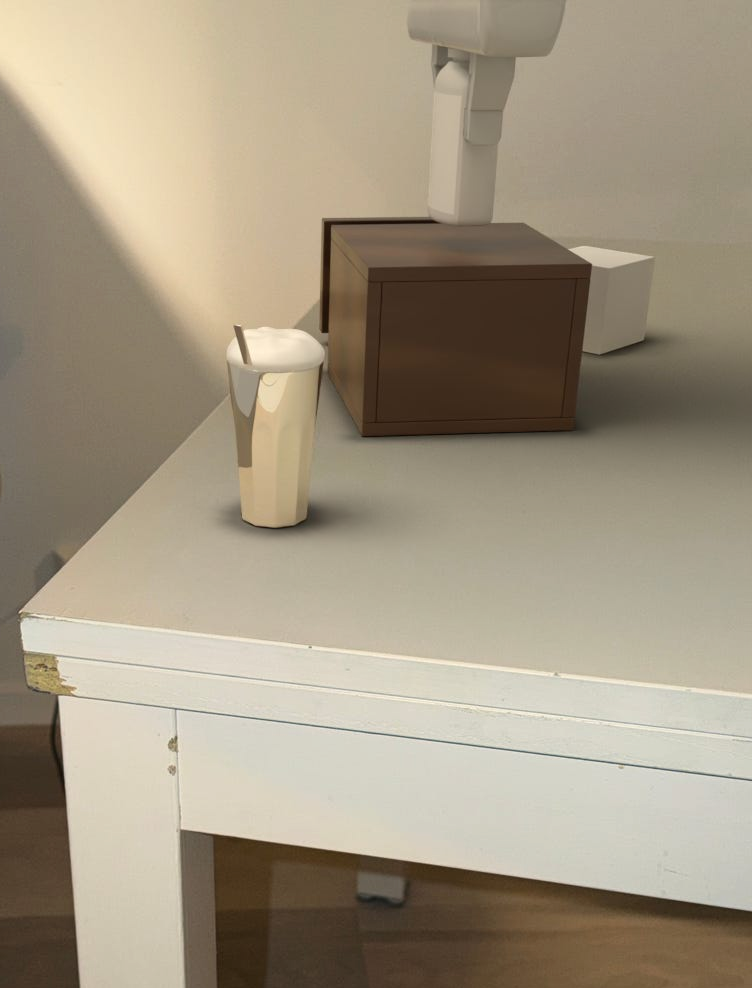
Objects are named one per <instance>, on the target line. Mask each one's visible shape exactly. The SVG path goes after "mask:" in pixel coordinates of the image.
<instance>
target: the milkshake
mask: <svg viewBox="0 0 752 988" xmlns="http://www.w3.org/2000/svg"><path fill="white" fill-rule="evenodd" d="M233 329H234V333H235V336H234V338H233V339H232V340H231V342H230V343H229V344H228V346H227V349H226V355H225V356H226V367H227V376H228V384H229V392H230V401H231V410H232V416H233V422H234V432H235V442H236V443H235V444H236V454H237V455H236V457H237V468H238V469H237V470H238V482H239V495H240V507H241V517H242V520H243V521H245V522H247V523H250V524H252V525H254V526H257V527H264V528H274V529H278V528H284V527H291V526H292V527H293V526H296V525H298V524H299V523H301V522H303V521H305V520H306V519H307V515H308V505H309V498H310V497H309V495H310V486H311V475H312V474H311V473H312V464H313V463H312V462H313V454H314V453H313V452H314V443H315V433H316V423H317V417H318V409H319V401H320V394H321V387H322V379H323V371H324V370H323V369H324V362H325V361H324V360H325V357H326V354H325V349H324V348H323V346H322V344H320V342H319V341H318V340H317V339H316V338H314V336H312V335H311V334H310V333H308V332H306V331H304V330H301V329H296V328H273V327H271V326H261V327H258V328H246V329H243V326H242V325H240V324H235V323H234V324H233Z"/></svg>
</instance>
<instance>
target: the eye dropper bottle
mask: <svg viewBox="0 0 752 988" xmlns="http://www.w3.org/2000/svg"><path fill="white" fill-rule="evenodd" d="M448 57H451V58H453V60H452V61H449V62H448V63H447V65H446V66H444V67H443V68H442V70H441V71H440V72H439V74H438V76H437V78H436V81H435V88H434V87H433V91H434V92H433V104H432V120H431V121H432V122H431V139H430V140H431V141H430V156H429V158H430V159H429V172H428V173H429V175H428V176H429V177H428V194H427V215H428V217H430V218H431V219H432V220H434V221H436V222H439V223H442V224H446V225H450V226H459V227H462V226H486V225H489V224H490V223H492V221H493V218H494V217H493V216H494V207H495V206H494V205H495V194H496V193H495V192H496V191H495V190H496V179H497V166H498V155H499V154H498V153H499V142H498V143H497V144H496V145H493V146H474V145H472V144H470V143H468V142H467V141H466V140H465V139H464V138H463V127H464V122H463V121H464V108H468V100H469V92H470V84H471V76H472V75H469V65H470V52H465V51H461V50H456V49H452V48H448Z"/></svg>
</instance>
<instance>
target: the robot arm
mask: <svg viewBox="0 0 752 988" xmlns="http://www.w3.org/2000/svg"><path fill="white" fill-rule="evenodd" d="M566 3H567V0H406V29H407V33H408V37H409V38H410V40H412V41H416V42H420V43H423V44H430V45H431V57H430V58H431V60H430V66H431V67H430V68H431V74H432V75H431V76H432V82H433V89H434V88H435V81H436V78H437V76H438V74H439V72H440V71H441V70H442V68H443V67H444V66H446V65H447V63H448V62H449V61H452V60H453V58H451V57H448V48H452V49H456V50H461V51H465V52H470V65H469V75H472V76H471V84H470V92H469V100H468V108H464V121H463V122H464V127H463V138H464V139H465V140H466V141H467V142H468V143H470V144H472V145H474V146H493V145H496V144H497V143H498V144H499V143H500V141H501V138H502V133H503V132H502V130H503V119H504V110H505V108H506V105H507V102H508V99H509V95H510V92H511V88H512V85H513V82H514V79H515V73H516V72H515V71H516V59H517V58H542V57H544V58H545V57H547V56H549V55H550V54H551V53H552V51H553V49H554V47H555V45H556V42H557V40H558V36H559V33H560V31H561V28H562V25H563V20H564V16H565V11H566V10H565V9H566Z"/></svg>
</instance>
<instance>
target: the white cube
mask: <svg viewBox="0 0 752 988" xmlns="http://www.w3.org/2000/svg"><path fill="white" fill-rule="evenodd" d="M567 249H568V250H570V251H572V252H573V253H575V254H577V255H578V256H580V257H582V258H583V259H585V260H586V261H588V262H590V263H591V264H592V271H591V278H590V288H589V297H588V306H587V314H586V323H585V332H584V340H583V349H582V352H585V353H590V354H594V355H598V356H600V355H602V354H606V353H609V352H612V351H615V350H618V349H621V348H624V347H628V346H631V345H633V344H636V343H640V342H643V341H645V336H646V327H647V321H648V314H649V307H650V306H649V305H650V297H651V290H652V282H653V276H654V269H655V268H654V267H655V261H656V256H652V255H645V254H639V253H633V252H626V251H619V250H613V249H608V248H607V249H606V248H601V247H595V246H588V245H581V246H576V247H571V248H567Z"/></svg>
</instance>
